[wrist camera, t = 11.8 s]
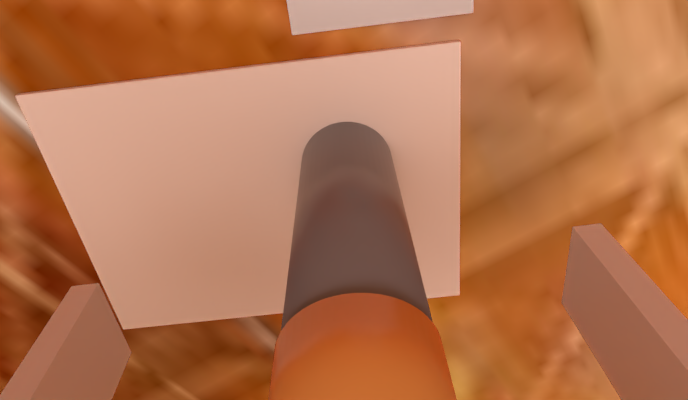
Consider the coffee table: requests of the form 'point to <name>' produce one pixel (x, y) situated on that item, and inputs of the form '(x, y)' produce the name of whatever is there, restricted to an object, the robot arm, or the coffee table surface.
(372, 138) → the marker
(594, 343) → the robot arm
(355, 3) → the plate
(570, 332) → the coffee table surface
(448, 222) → the paper
